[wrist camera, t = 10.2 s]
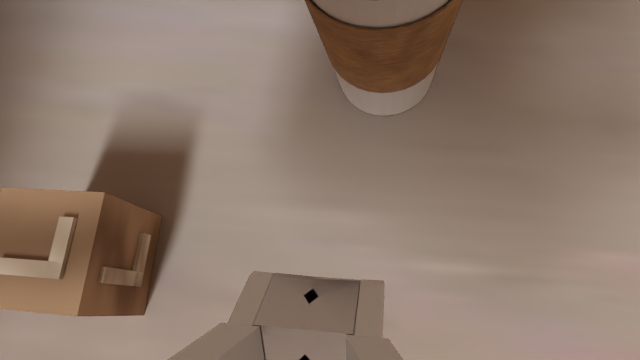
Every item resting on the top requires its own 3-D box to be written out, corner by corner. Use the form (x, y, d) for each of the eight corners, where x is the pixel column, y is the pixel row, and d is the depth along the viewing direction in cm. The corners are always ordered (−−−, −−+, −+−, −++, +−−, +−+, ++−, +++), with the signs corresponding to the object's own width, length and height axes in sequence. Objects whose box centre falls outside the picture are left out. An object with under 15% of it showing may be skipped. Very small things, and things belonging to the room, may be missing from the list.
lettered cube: (148, 315, 26) (78, 316, 20) (55, 306, 27) (-38, 305, 21) (166, 216, 28) (106, 191, 22) (78, 211, 29) (-2, 186, 23)
